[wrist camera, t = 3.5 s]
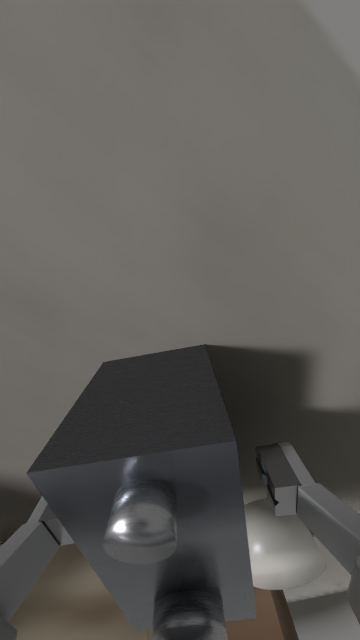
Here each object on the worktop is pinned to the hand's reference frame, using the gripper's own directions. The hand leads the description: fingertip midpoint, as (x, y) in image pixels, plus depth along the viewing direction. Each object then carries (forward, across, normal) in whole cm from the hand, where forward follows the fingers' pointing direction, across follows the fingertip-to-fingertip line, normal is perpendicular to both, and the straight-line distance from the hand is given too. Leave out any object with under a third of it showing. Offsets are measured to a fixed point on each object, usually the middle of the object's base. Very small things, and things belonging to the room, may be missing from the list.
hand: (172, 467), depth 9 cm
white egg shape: (+2, -5, +10) cm, 11 cm away
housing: (+2, 0, 0) cm, 2 cm away
